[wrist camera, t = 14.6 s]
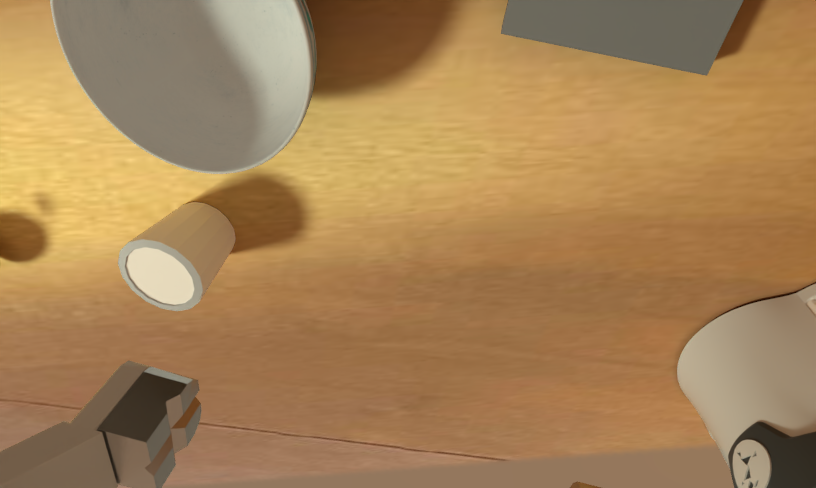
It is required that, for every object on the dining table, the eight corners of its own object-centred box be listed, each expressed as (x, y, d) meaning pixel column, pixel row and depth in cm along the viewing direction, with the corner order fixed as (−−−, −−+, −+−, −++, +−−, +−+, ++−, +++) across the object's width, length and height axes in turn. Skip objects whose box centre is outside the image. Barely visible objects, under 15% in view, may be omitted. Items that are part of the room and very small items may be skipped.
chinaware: (374, 114, 36) (343, 159, 30) (193, 141, 40) (133, 186, 34) (310, -144, 29) (251, -157, 22) (94, -79, 33) (-8, -75, 26)
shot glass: (245, 209, 43) (203, 257, 37) (240, 271, 47) (201, 322, 41) (167, 185, 43) (113, 228, 37) (168, 248, 47) (120, 296, 41)
